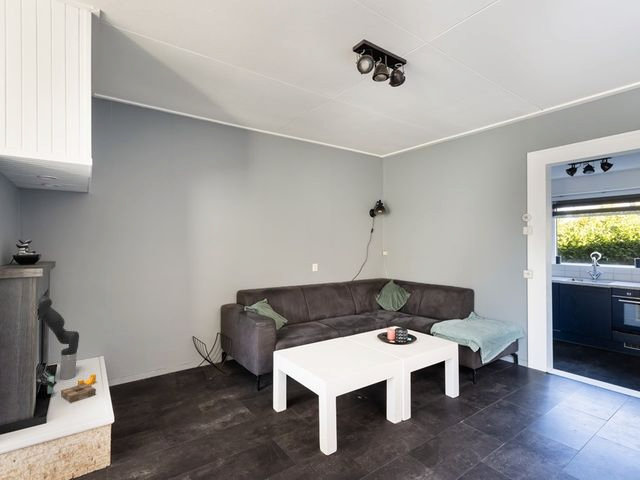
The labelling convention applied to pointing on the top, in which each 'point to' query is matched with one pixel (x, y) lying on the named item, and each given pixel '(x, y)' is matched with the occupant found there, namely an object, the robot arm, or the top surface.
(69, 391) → the walnut socket block
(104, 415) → the top surface
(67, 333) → the robot arm
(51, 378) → the teal peg
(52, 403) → the top surface
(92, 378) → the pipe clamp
